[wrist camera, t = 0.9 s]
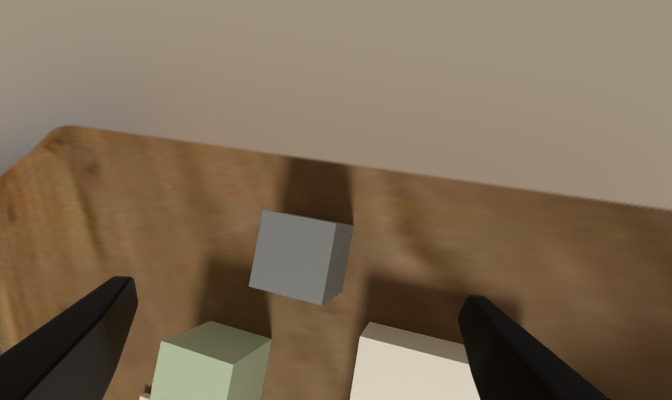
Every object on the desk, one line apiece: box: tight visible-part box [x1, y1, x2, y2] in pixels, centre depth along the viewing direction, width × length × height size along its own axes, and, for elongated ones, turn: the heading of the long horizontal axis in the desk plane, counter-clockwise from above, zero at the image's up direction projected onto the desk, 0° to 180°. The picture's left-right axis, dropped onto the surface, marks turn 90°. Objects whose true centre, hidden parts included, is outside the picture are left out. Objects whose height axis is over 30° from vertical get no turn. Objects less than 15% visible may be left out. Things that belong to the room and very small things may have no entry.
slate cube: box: [249, 210, 354, 305], centre depth 24 cm, size 5×5×5 cm
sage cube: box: [150, 321, 272, 400], centre depth 25 cm, size 6×6×6 cm
